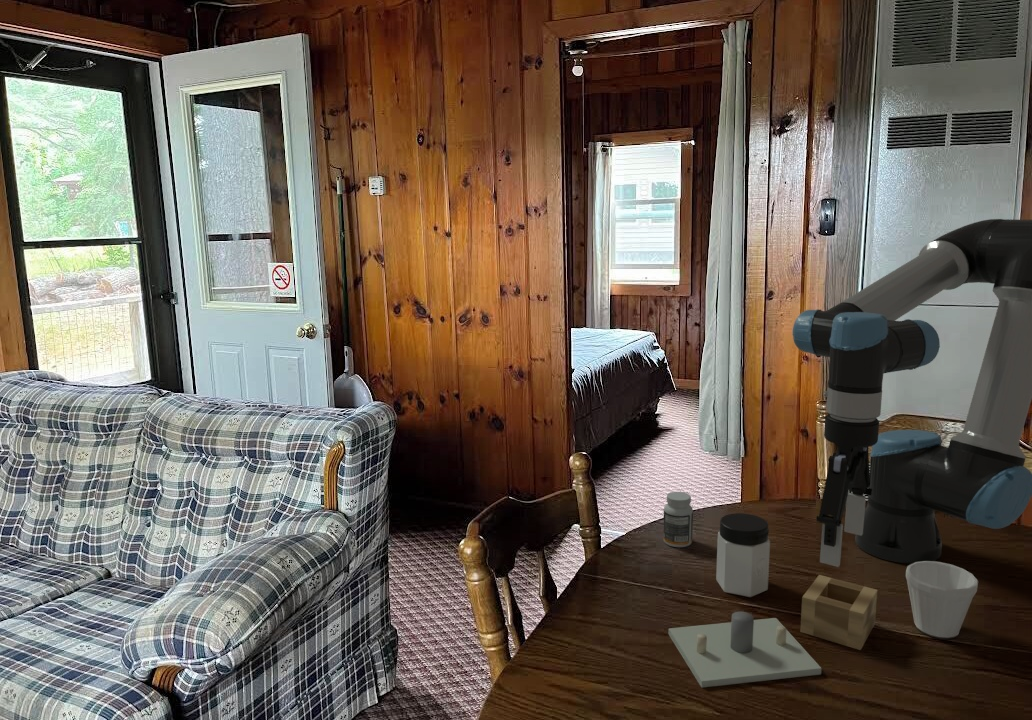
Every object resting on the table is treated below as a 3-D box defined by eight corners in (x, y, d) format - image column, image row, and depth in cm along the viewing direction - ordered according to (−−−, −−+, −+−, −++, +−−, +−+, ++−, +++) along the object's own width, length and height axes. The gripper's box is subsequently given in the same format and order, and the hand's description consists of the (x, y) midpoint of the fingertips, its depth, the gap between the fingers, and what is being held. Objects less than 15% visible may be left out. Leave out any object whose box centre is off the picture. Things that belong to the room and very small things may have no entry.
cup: (887, 621, 126) (891, 568, 124) (931, 607, 130) (936, 555, 128) (942, 653, 117) (947, 596, 115) (987, 637, 121) (993, 582, 119)
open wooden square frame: (817, 607, 131) (819, 574, 129) (874, 624, 125) (877, 589, 124) (800, 631, 124) (802, 597, 122) (860, 650, 118) (863, 614, 117)
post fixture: (775, 623, 126) (777, 589, 125) (821, 674, 112) (823, 636, 111) (668, 634, 124) (669, 599, 122) (701, 687, 110) (702, 649, 109)
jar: (742, 602, 133) (745, 536, 130) (706, 583, 140) (708, 520, 137) (777, 587, 138) (780, 523, 135) (740, 569, 144) (743, 508, 142)
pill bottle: (670, 534, 160) (671, 488, 158) (696, 540, 157) (698, 494, 155) (658, 544, 156) (659, 497, 154) (685, 551, 153) (686, 503, 151)
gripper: (847, 396, 129) (838, 516, 133) (801, 431, 110) (792, 571, 114) (897, 402, 125) (886, 526, 129) (857, 440, 105) (846, 585, 109)
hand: (842, 547), depth 121 cm, fingers open, 13 cm apart
